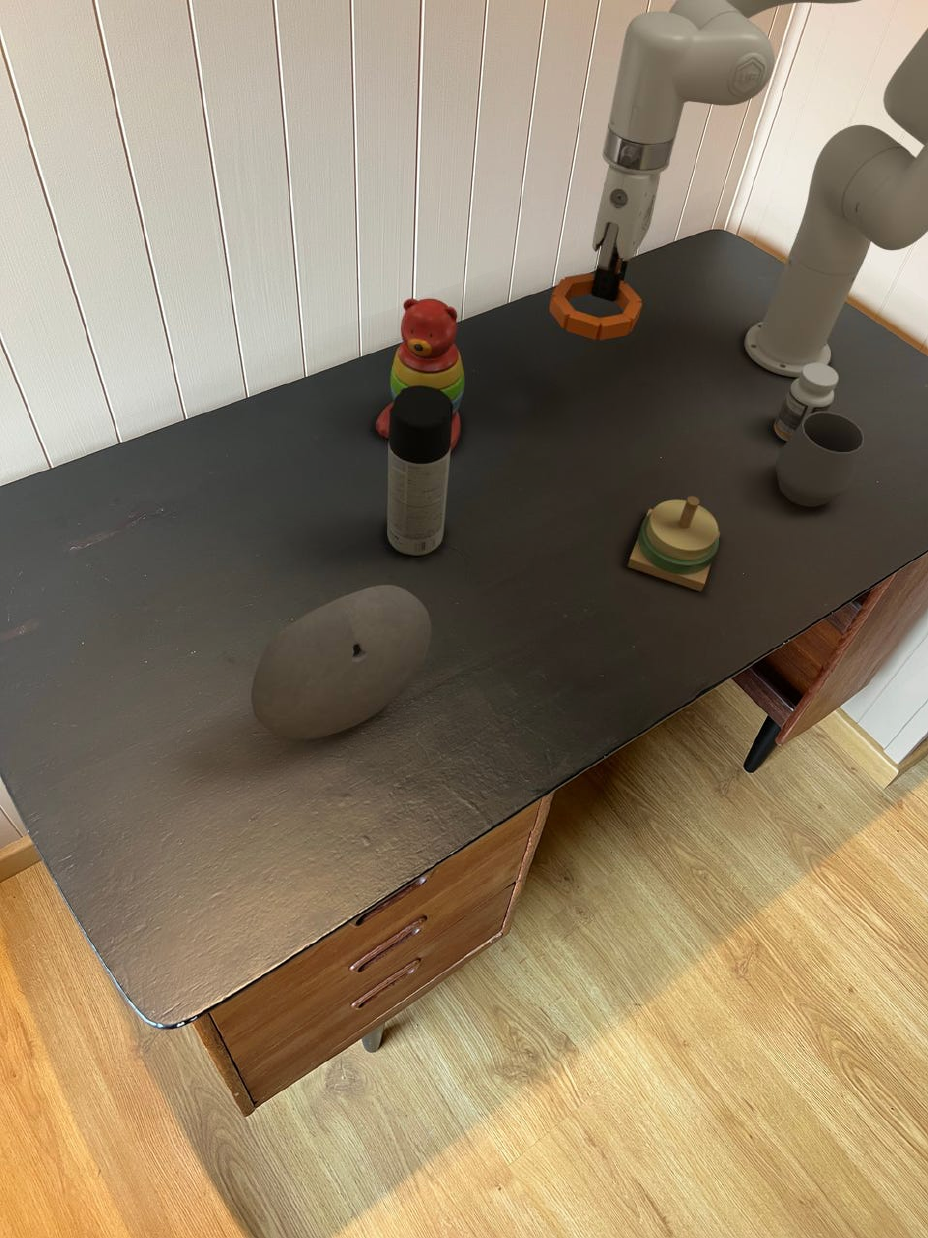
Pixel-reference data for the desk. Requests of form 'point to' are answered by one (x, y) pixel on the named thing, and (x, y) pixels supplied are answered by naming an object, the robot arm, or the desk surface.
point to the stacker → (677, 543)
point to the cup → (819, 459)
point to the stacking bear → (427, 357)
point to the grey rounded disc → (341, 663)
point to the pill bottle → (806, 397)
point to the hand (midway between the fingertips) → (606, 291)
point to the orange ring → (588, 323)
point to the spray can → (418, 468)
